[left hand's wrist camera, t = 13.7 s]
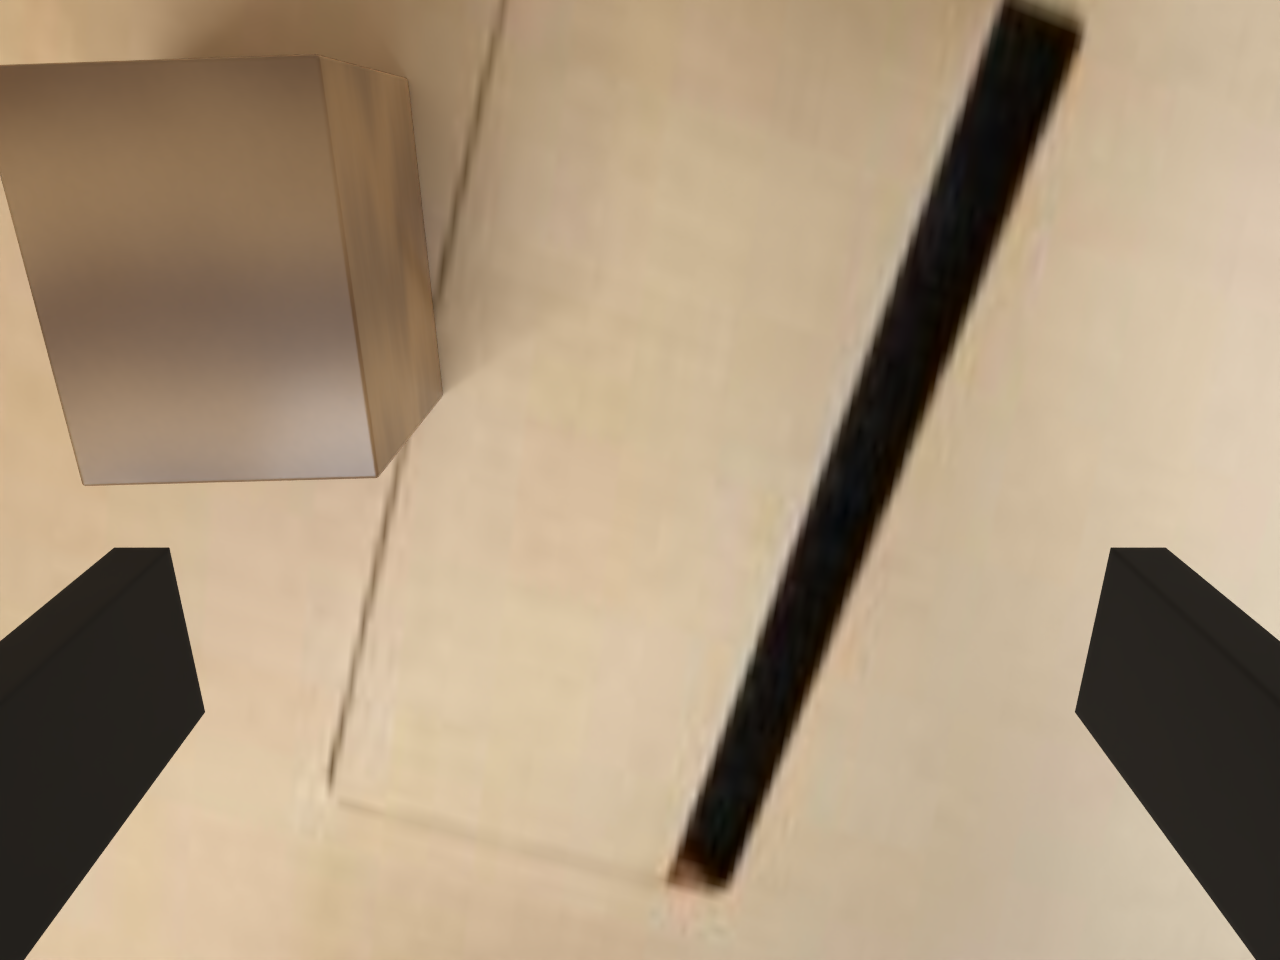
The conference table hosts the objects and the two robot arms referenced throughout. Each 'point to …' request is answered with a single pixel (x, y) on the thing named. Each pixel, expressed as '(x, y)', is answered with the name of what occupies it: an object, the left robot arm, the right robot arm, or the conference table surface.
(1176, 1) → the conference table surface
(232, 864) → the conference table surface
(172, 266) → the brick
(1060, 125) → the conference table surface
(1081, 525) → the conference table surface
